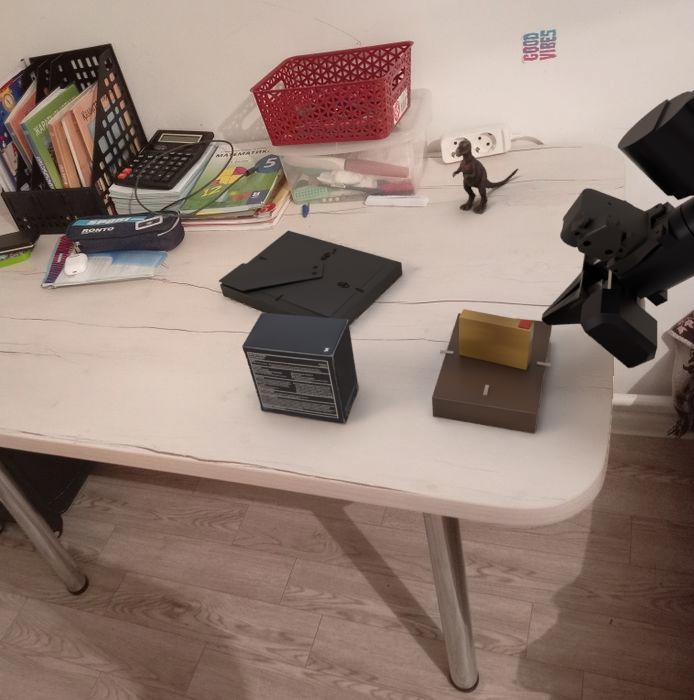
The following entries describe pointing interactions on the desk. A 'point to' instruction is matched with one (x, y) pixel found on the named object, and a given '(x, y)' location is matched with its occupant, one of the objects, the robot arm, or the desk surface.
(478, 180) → the dinosaur model
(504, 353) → the yellow rectangular slab
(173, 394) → the desk surface
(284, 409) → the small box
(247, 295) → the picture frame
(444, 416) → the plate
